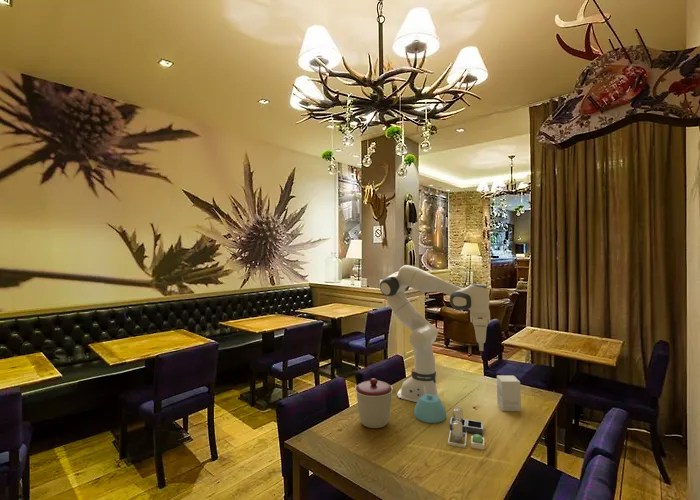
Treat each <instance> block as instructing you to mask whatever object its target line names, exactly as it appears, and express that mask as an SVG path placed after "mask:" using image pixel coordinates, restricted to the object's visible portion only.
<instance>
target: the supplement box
mask: <svg viewBox="0 0 700 500" xmlns="http://www.w3.org/2000/svg"><path fill="white" fill-rule="evenodd" d="M496 392H497V394H496V396H497V397H496V399H497V405H498V407H499V408H500V409H501V410H502V412H522V400H521V399H522V398H521V397H522V396H521V381H520V380H519V379H518V378H517V377H516V376H515V375H501V374H500V375H499V374H498V375H496Z"/></svg>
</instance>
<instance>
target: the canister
mask: <svg viewBox="0 0 700 500" xmlns="http://www.w3.org/2000/svg"><path fill="white" fill-rule="evenodd" d="M354 391H355V394H356V402H357V408H358V409H357V410H358V415H359V420H360V423H361V424H362V425H363V426H364V427H366V428H369V429H380V428H384V427H385V426H387V425H388V423H389V421H390V414H391V406H392V405H391V404H392V393H393V392H394V387H393V386H392V385H391V384H389V383H388V382H385V381H382V380H378V379H377V378H374V377H373V378H370V380H365V381H361V382H360V383H358V384H357V385H356V386H355V387H354Z"/></svg>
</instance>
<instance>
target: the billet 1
mask: <svg viewBox="0 0 700 500" xmlns="http://www.w3.org/2000/svg"><path fill="white" fill-rule="evenodd" d="M463 411H464V410H463V409H462V408H461V407H457V406H456V407H453V410H452V412H453V414H452V415H453V416H452V417H453V420H454V421H460V422H462V425H463V419H464V417H463V415H464V414H463V413H464V412H463Z"/></svg>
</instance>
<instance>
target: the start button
mask: <svg viewBox="0 0 700 500" xmlns="http://www.w3.org/2000/svg"><path fill="white" fill-rule="evenodd" d="M472 436H473V442H476V443H482V437H483V436H482V435H479V434H472ZM482 444H483V443H482Z"/></svg>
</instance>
